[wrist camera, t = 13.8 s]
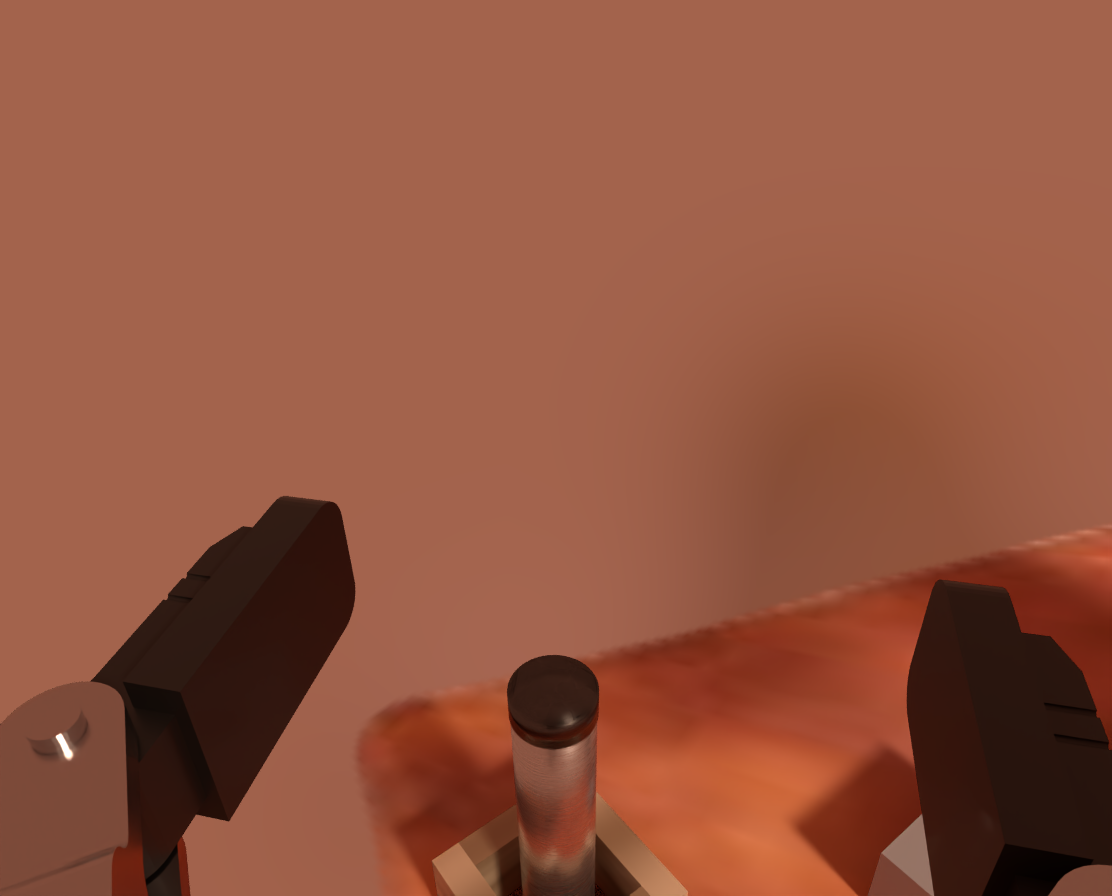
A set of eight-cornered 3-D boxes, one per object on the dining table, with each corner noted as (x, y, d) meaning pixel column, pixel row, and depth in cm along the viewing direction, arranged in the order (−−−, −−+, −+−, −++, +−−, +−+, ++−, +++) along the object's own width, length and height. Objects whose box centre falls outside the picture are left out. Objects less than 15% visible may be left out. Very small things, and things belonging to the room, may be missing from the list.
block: (1124, 933, 39) (1156, 883, 36) (1033, 1056, 35) (1062, 1008, 32) (960, 808, 44) (979, 758, 42) (865, 902, 40) (881, 852, 38)
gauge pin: (610, 933, 39) (617, 695, 30) (552, 980, 37) (543, 743, 29) (566, 878, 41) (561, 641, 33) (510, 920, 40) (489, 683, 31)
